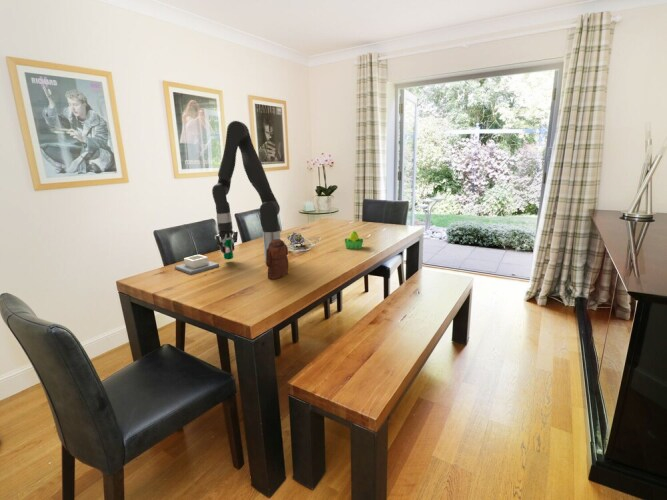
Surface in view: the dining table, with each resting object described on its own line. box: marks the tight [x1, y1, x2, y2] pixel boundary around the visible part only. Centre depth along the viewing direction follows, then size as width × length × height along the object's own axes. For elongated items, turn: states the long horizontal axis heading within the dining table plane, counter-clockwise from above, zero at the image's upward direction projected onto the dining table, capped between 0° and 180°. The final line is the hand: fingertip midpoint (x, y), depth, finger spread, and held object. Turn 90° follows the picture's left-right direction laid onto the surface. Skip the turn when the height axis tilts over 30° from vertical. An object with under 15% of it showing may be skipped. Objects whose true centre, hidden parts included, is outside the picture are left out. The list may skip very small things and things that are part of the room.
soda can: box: [222, 237, 234, 260], centre depth 191 cm, size 5×5×12 cm
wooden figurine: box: [265, 238, 289, 280], centre depth 167 cm, size 12×6×18 cm, turn 151°
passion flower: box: [287, 231, 307, 246], centre depth 221 cm, size 11×11×12 cm
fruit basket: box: [344, 230, 364, 250], centre depth 215 cm, size 11×9×11 cm
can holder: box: [174, 254, 220, 275], centre depth 184 cm, size 16×16×6 cm
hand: (228, 251), depth 192 cm, fingers closed on soda can, 5 cm apart
